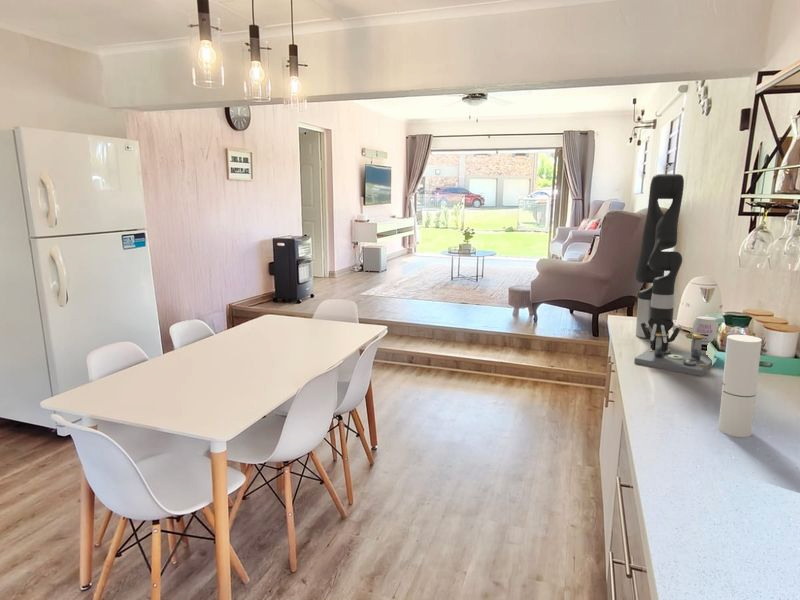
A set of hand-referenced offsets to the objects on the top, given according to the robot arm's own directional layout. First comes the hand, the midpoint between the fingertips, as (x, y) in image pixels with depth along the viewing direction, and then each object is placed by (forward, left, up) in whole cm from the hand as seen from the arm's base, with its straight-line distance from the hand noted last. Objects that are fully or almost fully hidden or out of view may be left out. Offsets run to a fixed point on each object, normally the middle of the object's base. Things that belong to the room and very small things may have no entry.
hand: (658, 350), depth 183 cm
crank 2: (-1, +11, -2) cm, 11 cm away
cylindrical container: (+47, +34, -5) cm, 58 cm away
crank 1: (-4, 0, -2) cm, 4 cm away
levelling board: (-3, +5, -4) cm, 7 cm away
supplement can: (-19, +10, -5) cm, 22 cm away
